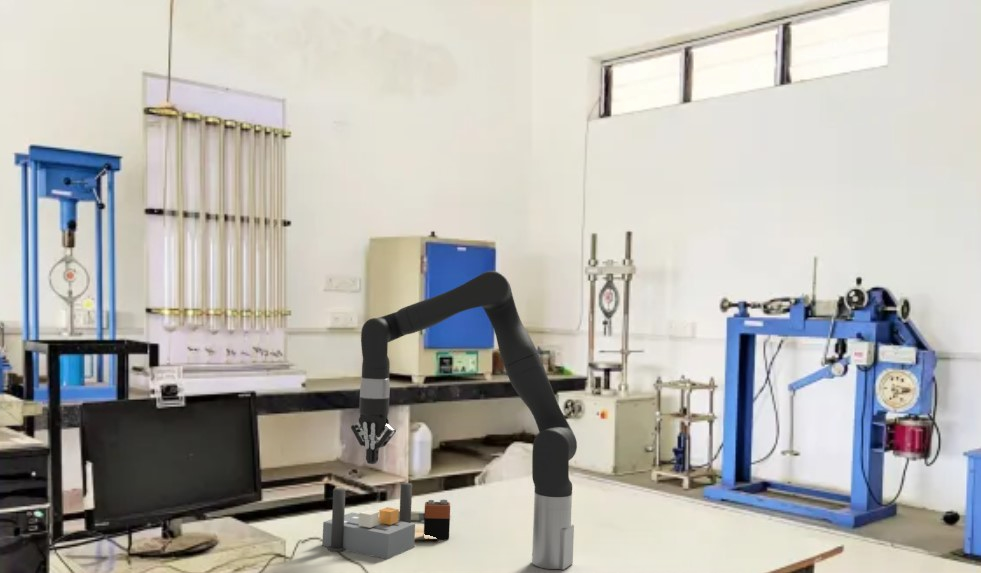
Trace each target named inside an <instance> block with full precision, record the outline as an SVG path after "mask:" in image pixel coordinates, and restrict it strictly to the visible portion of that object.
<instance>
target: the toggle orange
mask: <svg viewBox="0 0 981 573" xmlns="http://www.w3.org/2000/svg"><path fill="white" fill-rule="evenodd" d="M378 512H379V523H383V524H389V525H391V524H394V523H397V522H398V521H399V513H400V508H399V509H398V508H392V507H384V508H382V509H379V511H378Z"/></svg>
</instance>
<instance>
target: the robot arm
mask: <svg viewBox="0 0 981 573" xmlns="http://www.w3.org/2000/svg"><path fill="white" fill-rule="evenodd" d="M480 307H481V308H483V310H484V313H485V314H486V316H487V318H488V319H489V322H490V324H491V327H492V329H493V331H494V334H495V337H496V338H495V339H496V342H497V347H498V352H499V355H500V358H501V361H502V364H503V367H504V370H505V372H506V374H507V377H508V380H509V381H510V384H511V386H512V387H513V389H514V391H515V392H516V393H517V395H518V396H519V398H520V399H521V400H522V401H523V403H524V404H525V406H526V407H527V408H528V409H529V411H530V412H531V414H532V417H533V419H534V421H535V424H536V426H537V430H538V431H539V432H538V433H537V435H536V436H535V438H534V440H533V443H532V454H531V455H532V457H531V458H532V460H531V461H532V462H531V465H532V466H531V467H532V468H531V470H532V471H531V473H532V483H533V486H534V497H533V498H534V502H533V523H532V524H533V525H532V551H531V552H532V553H531V556H532V557H531V563H532V565H533V566H535V567H537V568H541V569H547V570H566V569H567V568H569V567H570V566H571V565H573V564H574V563H573V562H574V538H575V535H574V534H575V525H574V524H572V507H573V506H572V503H573V483H572V481H571V480H570V478H569V477H570V476H569V472H570V470H569V468H570V467H569V466H570V465H569V464H570V460H572V459H573V458H574V457H575V455H576V453H577V449H578V443H577V438H576V435H575V433H574V432H573V428H571V426H570V424H569V422H568V420H567V419H566V417H565V414H564V413H563V411H562V410H561V407H560V405H559V403H558V400H557V397H556V395H555V392H554V389H553V387H552V384H551V383H550V380H549V377H548V375H547V371H546V370H545V367H544V363H543V362H542V359H541V357H540V354H539V352H538V350H537V347H536V346H535V344H534V342H533V340H532V338H531V336H530V335H529V333H528V331H527V330H526V327H525V326H524V324H523V322H522V320H521V318H520V315H519V313H518V312H519V311H518V309H517V307H516V303H515V300H514V296H513V292H512V288H511V284H510V282H509V281H508V279H507V277H506V276H505V275H504V274H503V273H501V272H499V271H496V270H487V271H484V272H482V273H480V274H479V275H477V276H475V277H474V278H472V279H470V280H468V281H466V282H465V283H463V284H460V285H459V286H457V287H455V288H453V289H450V290H447V291H446V292H443V293H441V294H438V295H435V296H432V297H429V298H426V299H424V300H421V301H418V302H415V303H413V304H410V305H407V306H405V307H402V308H400V309H398V310H397V311H396V312H392V313H390V314H385V315H383V316H380V317H373V318H370V319H368V320H366V321H365V322H364V324H363V325H362V328H361V334H360V341H361V342H360V343H361V344H360V345H361V354H362V355H361V356H362V363H361V364H362V365H361V366H362V367H361V380H360V381H361V382H360V388H359V405H358V406H359V407H358V409H359V411H358V413H359V415H360V416H359V417H358V421H357V422H356V423H355V424H352V425H350V428H351V431H352V433H353V434H354V436H355V438H356V439H357V443H358V444H359V445H360V446H361V447H362V446H363V447H365V451H366V452H365V453H366V454H365V455H366V456H365V461H366V463H367V464H370V465H375V464H377V463H378V461H379V449H380V448H384V447H386V446H387V445H388V443H389V442H390V440H391V439H392V438H393V436H394V435H395V434H396V432H397V429H396V428H392V427H391V425H390V421H389V419H388V415H389V412H390V390H391V389H390V388H391V386H390V371H391V370H390V366H391V365H390V362H391V361H390V358H389V357H388V347H389V344H388V343H390V342H393V341H394V340H397V339H399V338H401V337H404V336H407V335H411V334H415V333H419V332H420V331H423V330H427V329H428V328H431V327H434V326H436V325H438V324H439V323H441V322H443V321H446V320H447V319H450V318H451V317H452V316H455V315H458V314H459V313H461V312H465V311H467V310H472V309H476V308H480Z"/></svg>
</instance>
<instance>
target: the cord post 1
mask: <svg viewBox="0 0 981 573" xmlns="http://www.w3.org/2000/svg"><path fill="white" fill-rule="evenodd" d="M345 505H346V488H342V487H337V488H333V490H332V511H331V512H332V514H331V516H332V517H331V519H332V534H331V545H330V546H328V547H327V550H328V551H329V552H332V553H341V552H345V551H346V550H345V548H343V530H344V515H345V508H346V506H345Z"/></svg>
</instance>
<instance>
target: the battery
mask: <svg viewBox="0 0 981 573" xmlns="http://www.w3.org/2000/svg"><path fill="white" fill-rule="evenodd" d="M423 515H424V516H423V517H424V519H423V520H424V521H423V535H424V534H425V535H430V536H433V537H436V538H437V539H438V541H439V540H440V541H441V540H443V541H445V540H446V541H447V540H449V539H450V529H451V528H450V523H451V502H449V501H448V500H447V499H440V500H439V501H435V500H434V499H428V500H427V501H425V503H424V514H423Z"/></svg>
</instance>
